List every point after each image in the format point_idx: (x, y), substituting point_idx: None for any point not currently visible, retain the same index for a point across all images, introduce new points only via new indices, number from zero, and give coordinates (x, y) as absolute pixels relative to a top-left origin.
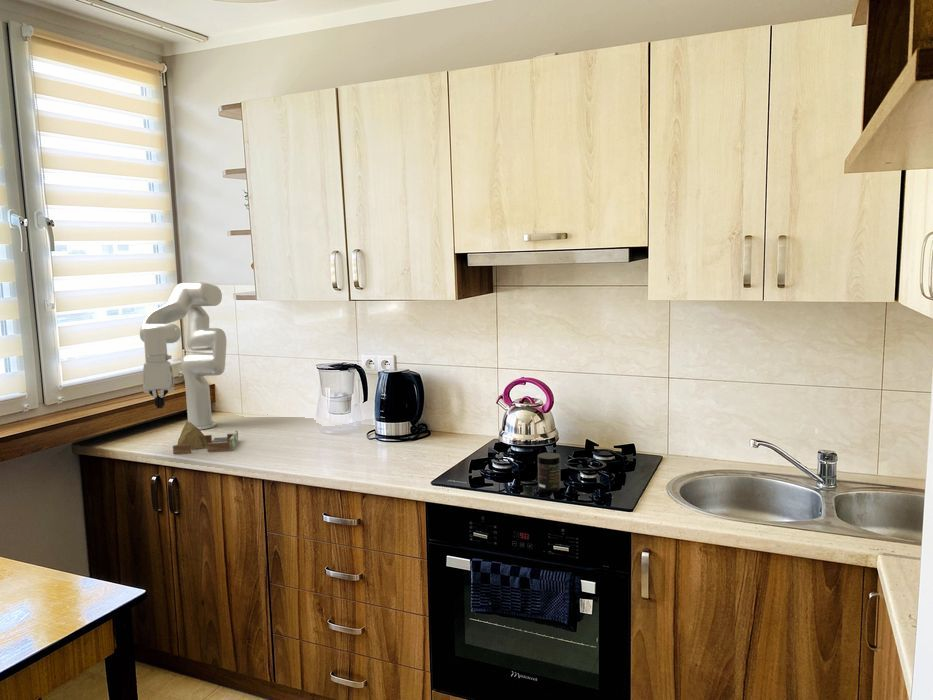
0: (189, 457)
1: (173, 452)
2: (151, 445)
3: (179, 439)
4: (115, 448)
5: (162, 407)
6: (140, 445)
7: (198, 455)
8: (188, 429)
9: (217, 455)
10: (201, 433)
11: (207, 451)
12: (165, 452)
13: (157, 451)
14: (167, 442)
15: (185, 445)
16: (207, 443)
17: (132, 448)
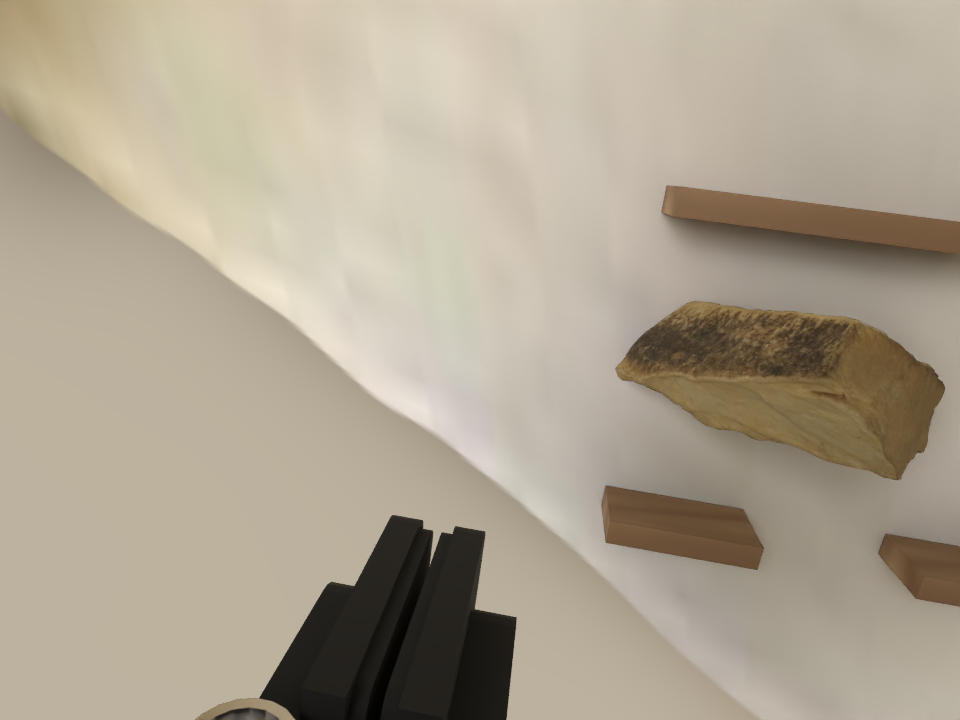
0: (725, 642)
1: (602, 512)
2: (374, 120)
3: (662, 378)
4: (80, 117)
5: (475, 595)
6: (271, 80)
7: (796, 619)
8: (799, 425)
9: (944, 678)
10: (926, 425)
11: (880, 555)
12: (532, 428)
13: (463, 369)
14: (512, 44)
15: (716, 562)
16: (924, 580)
17: (228, 176)
